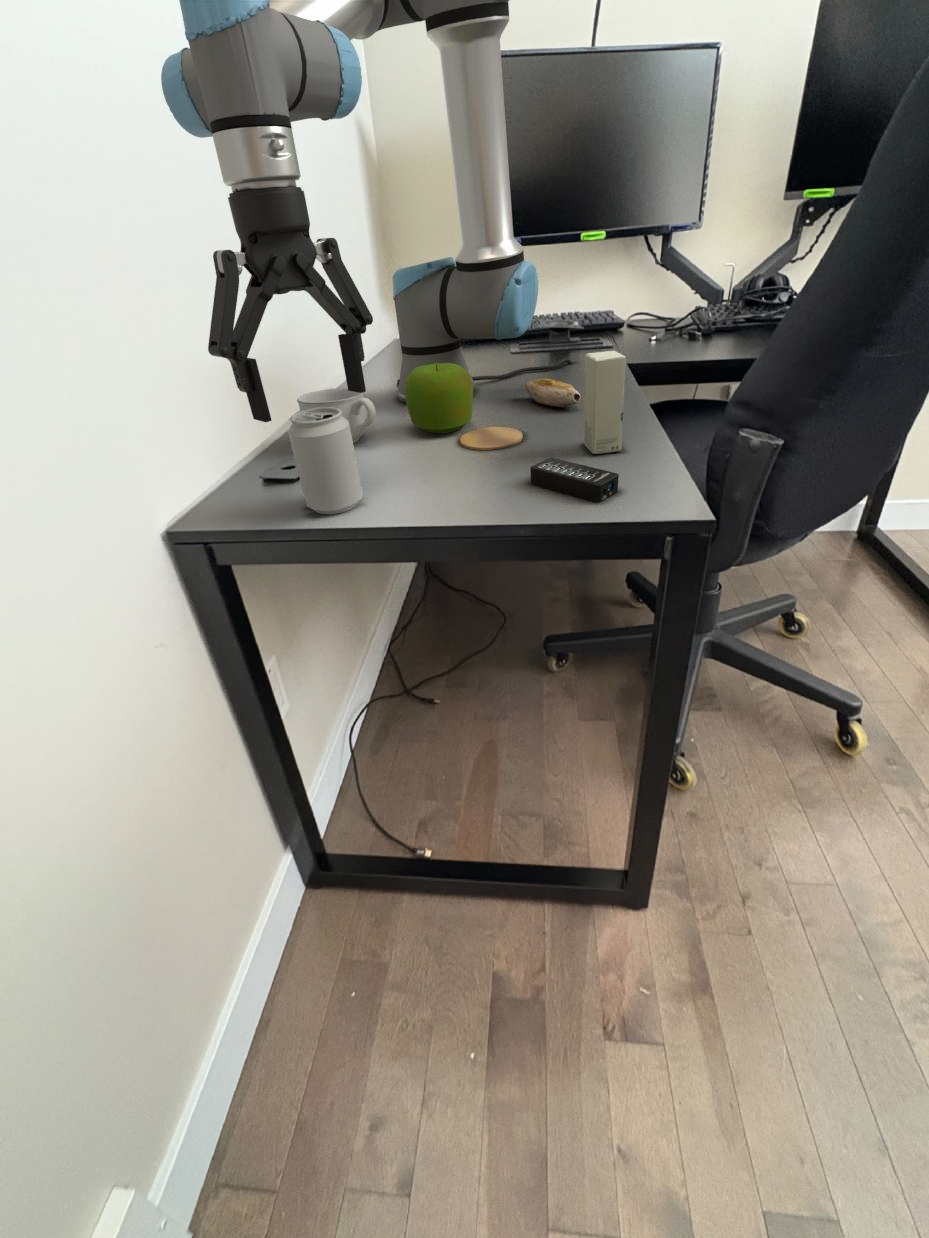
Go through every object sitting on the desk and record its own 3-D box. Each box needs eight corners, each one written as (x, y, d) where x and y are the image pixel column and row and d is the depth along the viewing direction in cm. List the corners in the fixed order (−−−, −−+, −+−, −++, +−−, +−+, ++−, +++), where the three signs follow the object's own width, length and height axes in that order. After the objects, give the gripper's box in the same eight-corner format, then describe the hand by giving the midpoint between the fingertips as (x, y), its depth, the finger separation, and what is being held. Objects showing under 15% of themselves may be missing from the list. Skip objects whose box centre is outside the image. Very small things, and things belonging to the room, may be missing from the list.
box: (622, 452, 86) (628, 356, 79) (592, 456, 86) (595, 360, 78) (610, 440, 90) (615, 349, 83) (582, 444, 90) (584, 352, 83)
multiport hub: (550, 473, 82) (550, 456, 81) (619, 491, 75) (620, 473, 74) (529, 483, 80) (528, 467, 78) (598, 503, 73) (599, 485, 71)
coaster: (488, 425, 101) (488, 423, 101) (535, 435, 95) (535, 432, 95) (447, 443, 96) (447, 440, 96) (494, 454, 90) (494, 451, 90)
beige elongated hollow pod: (540, 393, 115) (539, 369, 112) (587, 409, 104) (588, 383, 102) (517, 399, 113) (516, 375, 110) (563, 416, 102) (563, 389, 100)
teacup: (295, 446, 101) (283, 397, 97) (346, 427, 107) (337, 381, 103) (345, 461, 93) (335, 408, 88) (397, 440, 99) (390, 390, 95)
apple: (397, 435, 102) (387, 367, 95) (436, 416, 109) (428, 352, 102) (450, 442, 96) (443, 371, 90) (487, 422, 103) (483, 355, 97)
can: (352, 517, 76) (332, 422, 69) (298, 516, 77) (273, 423, 70) (371, 493, 82) (355, 403, 75) (321, 493, 83) (300, 404, 76)
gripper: (158, 190, 51) (233, 439, 62) (383, 178, 65) (410, 383, 77) (124, 197, 55) (200, 428, 67) (342, 185, 69) (373, 378, 81)
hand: (312, 405), depth 72 cm, fingers open, 13 cm apart
